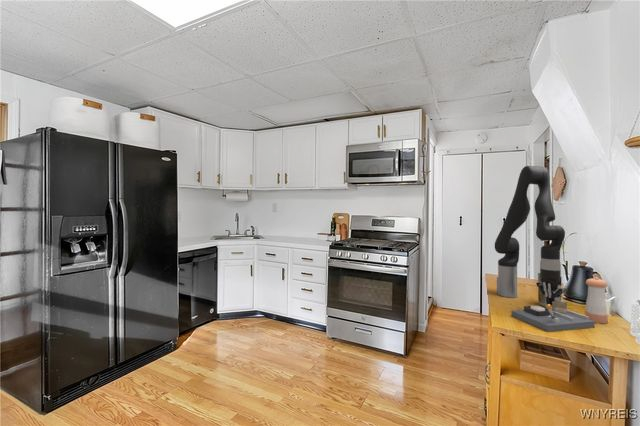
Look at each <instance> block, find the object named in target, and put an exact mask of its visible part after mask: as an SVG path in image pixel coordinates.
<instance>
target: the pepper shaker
mask: <svg viewBox="0 0 640 426" xmlns="http://www.w3.org/2000/svg"><path fill="white" fill-rule="evenodd" d="M585 284H586V286H587V297H586V301H585V305H586V306H585V311H584V315H585V316H588V317H589V320H592V321H595V323H596V324H597V323H598V324H607V322H608V321H609V319H608V318H609V315H608V313H607V310H608V308H607V300H606V288H607V287H608V283H607V281H605V280H604V279H600V278H599V277H598V276H596V277H595V276H594V277H593V278H588V279H586V281H585ZM608 323H609V322H608Z"/></svg>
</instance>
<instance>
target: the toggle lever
mask: <svg viewBox="0 0 640 426" xmlns="http://www.w3.org/2000/svg"><path fill="white" fill-rule="evenodd" d="M545 308H547V309H548V310H549V313H550V315H551V318H552V319H554V318H555V316H554V314H553V311H552V309H551V308H552V306H551V305H550V304H547V305H546V307H545Z"/></svg>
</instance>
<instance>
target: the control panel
mask: <svg viewBox="0 0 640 426" xmlns="http://www.w3.org/2000/svg"><path fill="white" fill-rule="evenodd" d="M531 306H532V305H524V306H523V309H514V310H511V317H513V318H515V319H517V320H520V321H522V322H525V323H527V324H528V325H529V324H530V325H531V326H533V327H535V328H537V329H541V330H543V331H545V332H548V333H550V332H560V331H570V330H579V329H580V330H581V329H591V328H592V329H593V328H595V325H596V324H595V323H596V322H595V321H592V320H589V317H588V316H585V314H582V313H578V312H575V311H572V310H569V309H567V313H558V312H555V311H553V314H554V316H555V318H554V319H552V318H551V315H550V313H549V310H548V309H547V308H546V307H544V308H545V311H536V310H533V309H531ZM534 306H538V305H534ZM551 309H552V308H551Z"/></svg>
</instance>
